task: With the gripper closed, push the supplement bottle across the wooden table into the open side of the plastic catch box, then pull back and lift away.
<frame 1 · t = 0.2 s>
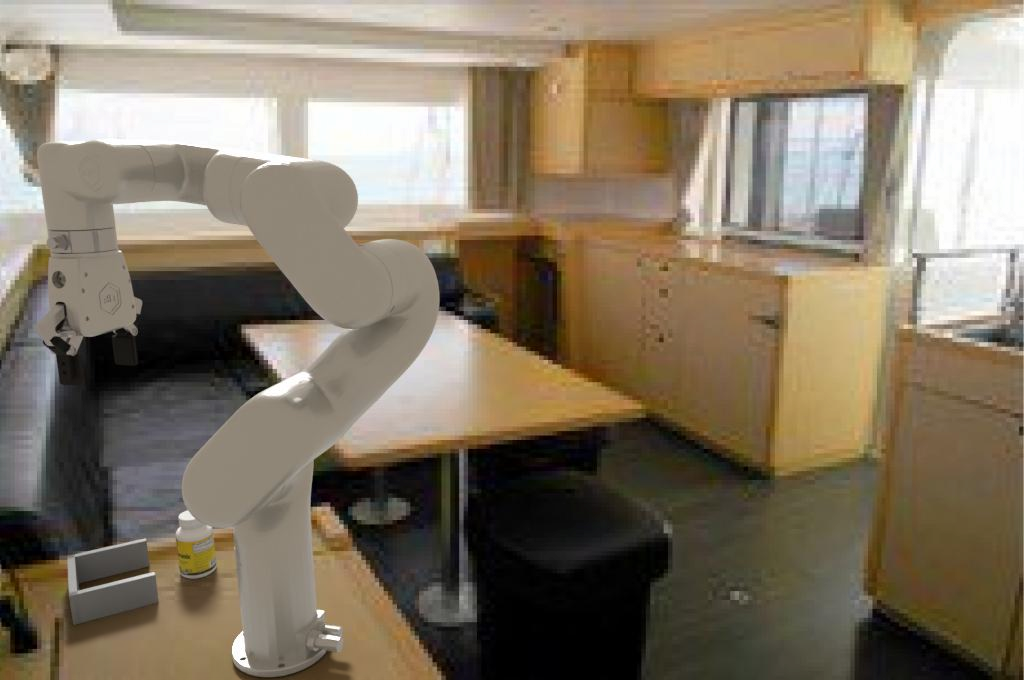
hand: (100, 374, 100), 36 cm above the worktop, tool pointing down, fingers open, 9 cm apart
catch box: (113, 592, 115), on the worktop
supplement bottle: (198, 572, 121), on the worktop
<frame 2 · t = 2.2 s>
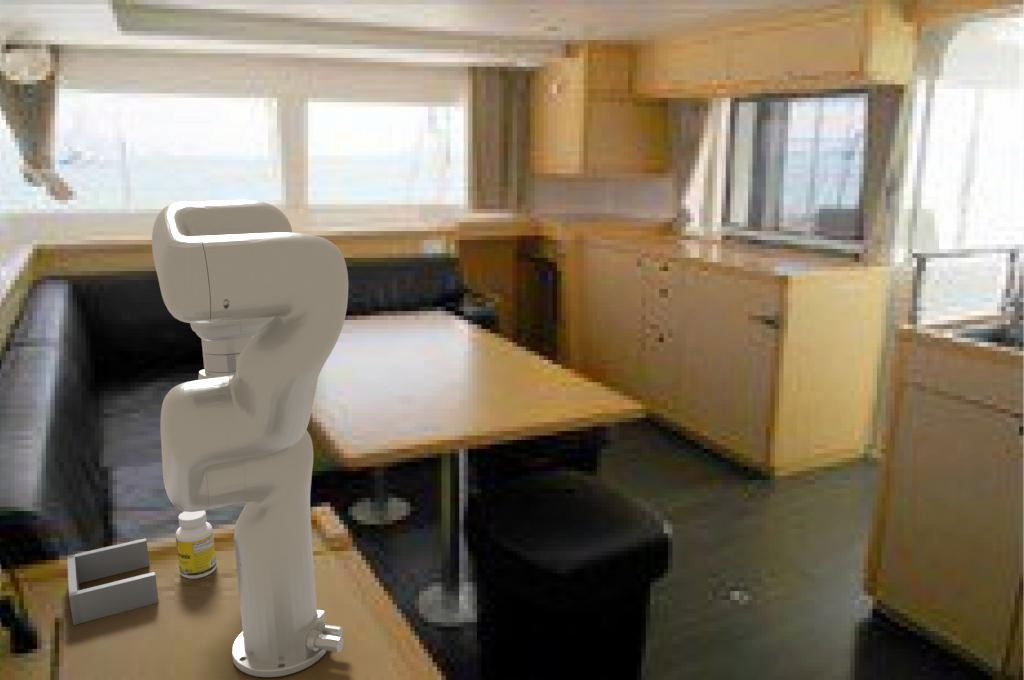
hand: (240, 471, 122), 15 cm above the worktop, tool pointing down, fingers closed
nothing on the worktop moved.
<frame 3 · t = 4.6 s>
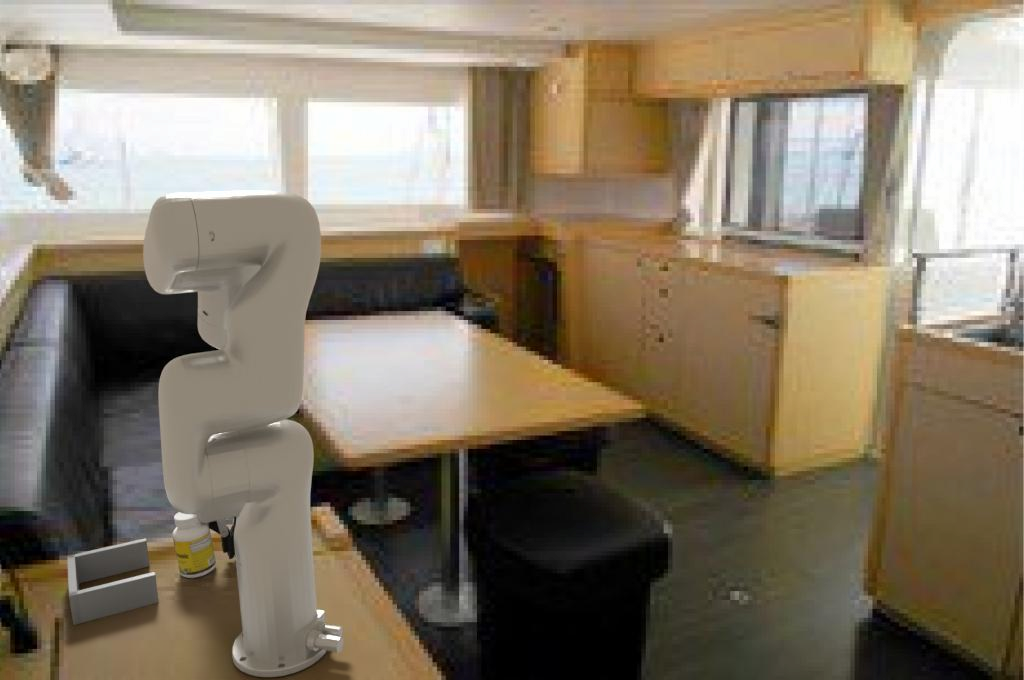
hand: (233, 554, 124), 1 cm above the worktop, tool pointing down, fingers closed
supplement bottle: (198, 571, 121), on the worktop, touching gripper
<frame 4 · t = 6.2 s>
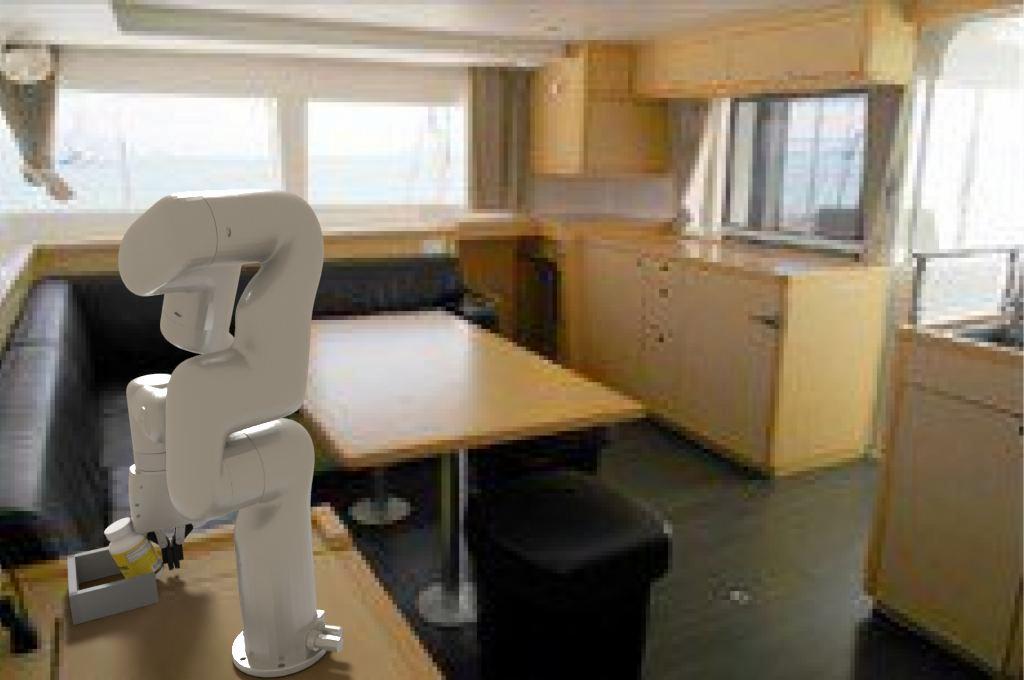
hand: (173, 565, 120), 2 cm above the worktop, tool pointing down, fingers closed
supplement bottle: (148, 577, 118), point 1 cm above the worktop, touching gripper
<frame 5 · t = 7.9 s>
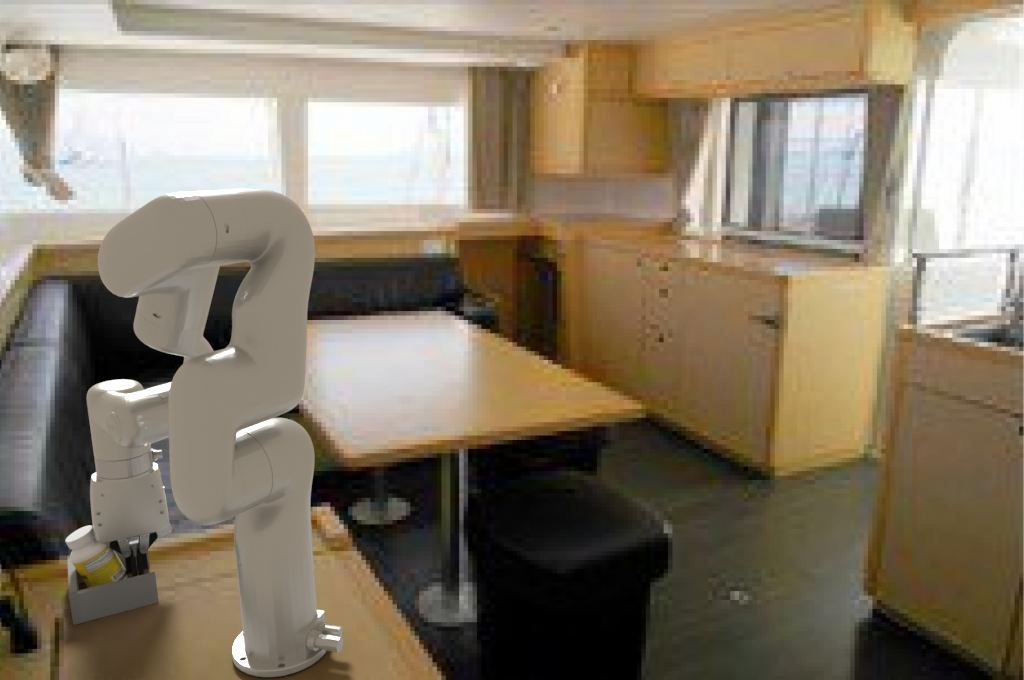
hand: (138, 574, 117), 2 cm above the worktop, tool pointing down, fingers closed
supplement bottle: (112, 586, 116), point 1 cm above the worktop, touching gripper
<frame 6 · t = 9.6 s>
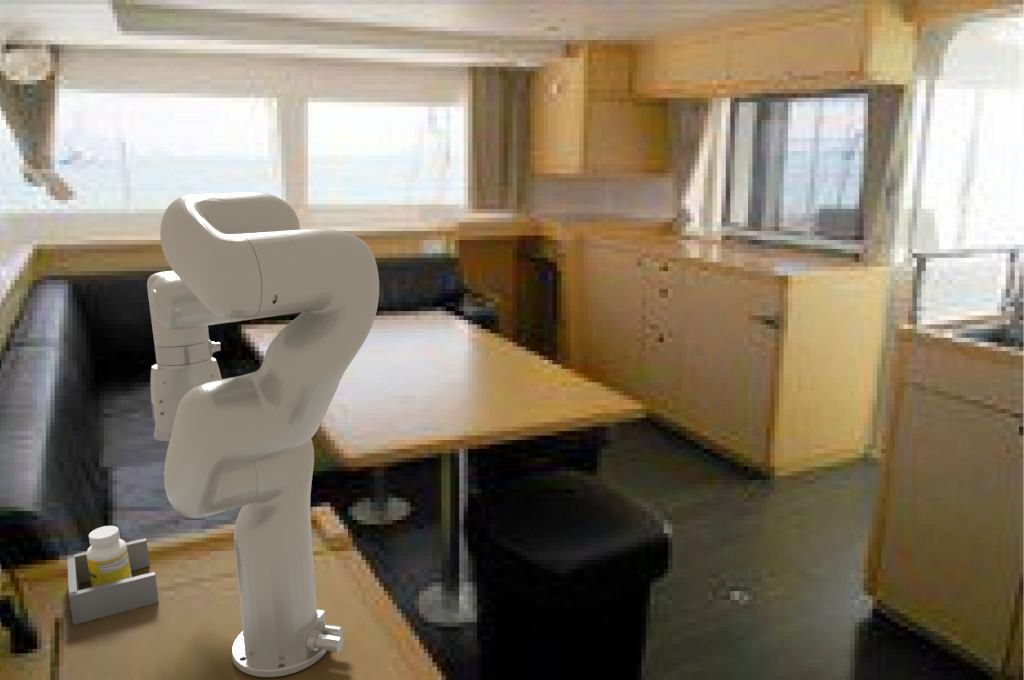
hand: (197, 470, 117), 17 cm above the worktop, tool pointing down, fingers closed
supplement bottle: (113, 591, 116), on the worktop
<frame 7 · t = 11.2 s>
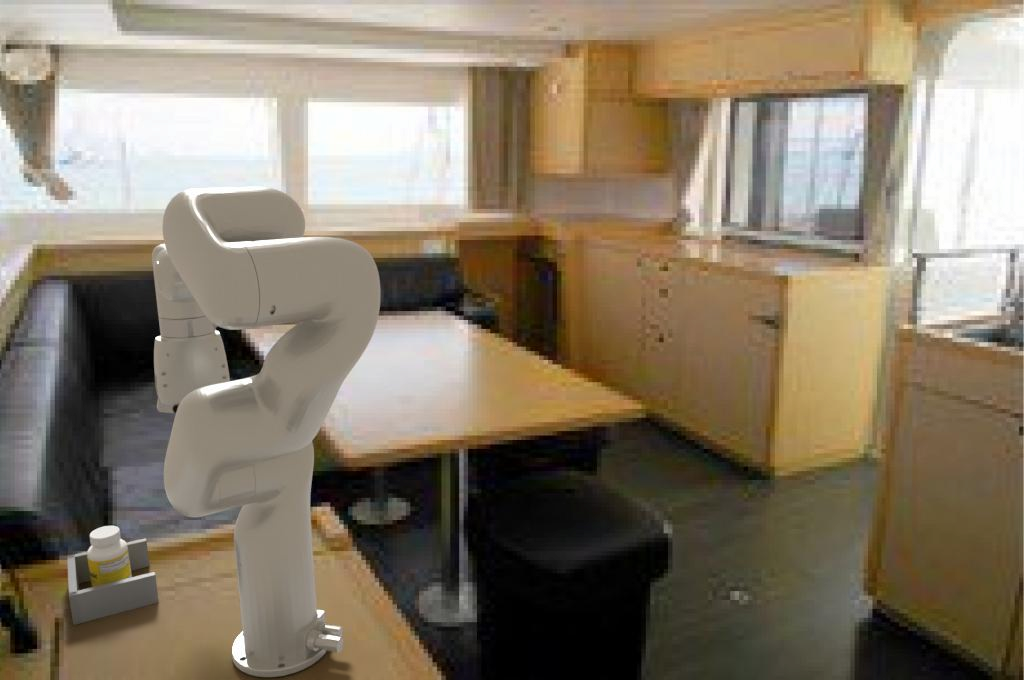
hand: (199, 442, 118), 21 cm above the worktop, tool pointing down, fingers closed
nothing on the worktop moved.
at the end: supplement bottle 0.9 cm off-centre on the catch box, point 0.0 cm above the catch box's base; supplement bottle tilted 1°; the gripper is holding nothing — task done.
